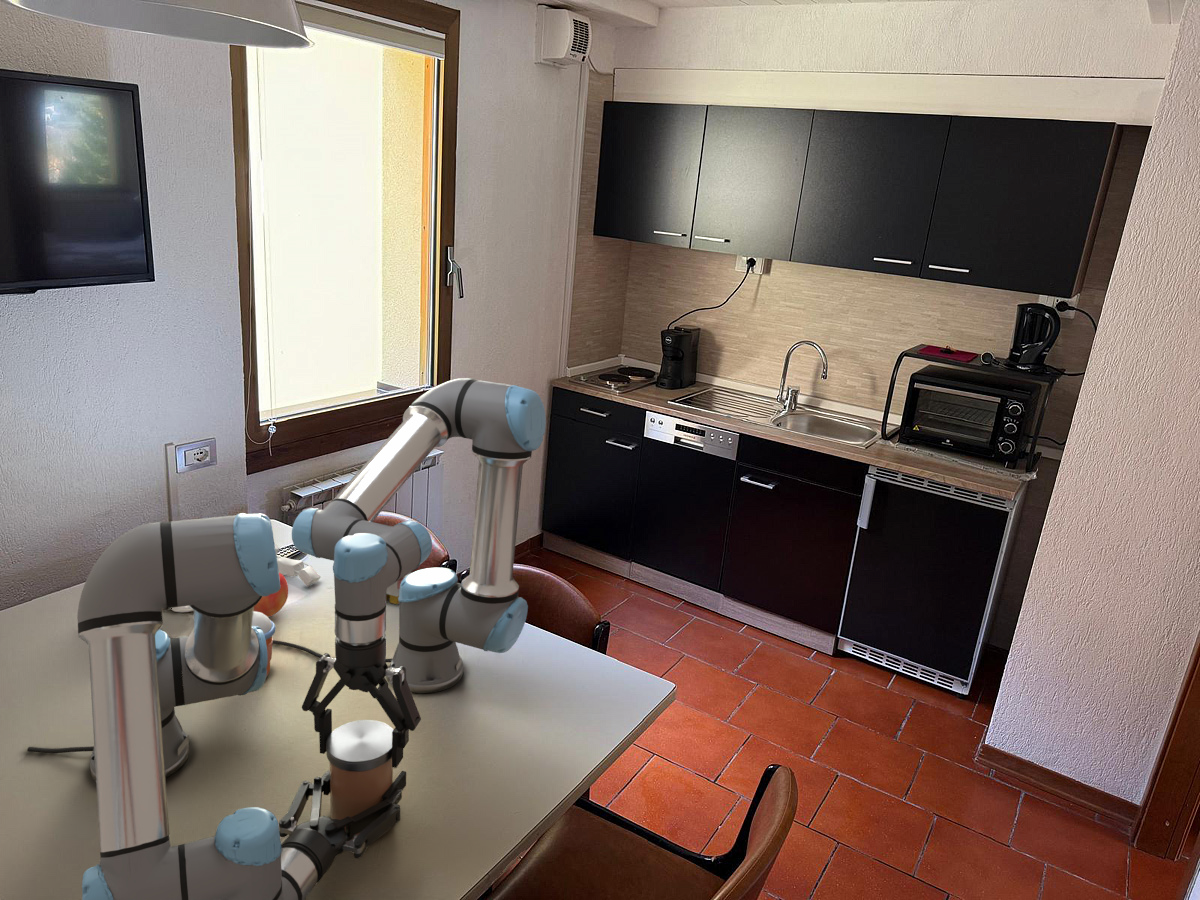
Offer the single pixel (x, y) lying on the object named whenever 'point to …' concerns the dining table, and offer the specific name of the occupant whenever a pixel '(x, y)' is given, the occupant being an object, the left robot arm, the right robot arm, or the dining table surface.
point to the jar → (357, 789)
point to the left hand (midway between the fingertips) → (375, 770)
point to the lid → (360, 745)
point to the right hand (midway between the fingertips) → (361, 755)
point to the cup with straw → (265, 632)
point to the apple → (273, 600)
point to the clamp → (297, 569)
